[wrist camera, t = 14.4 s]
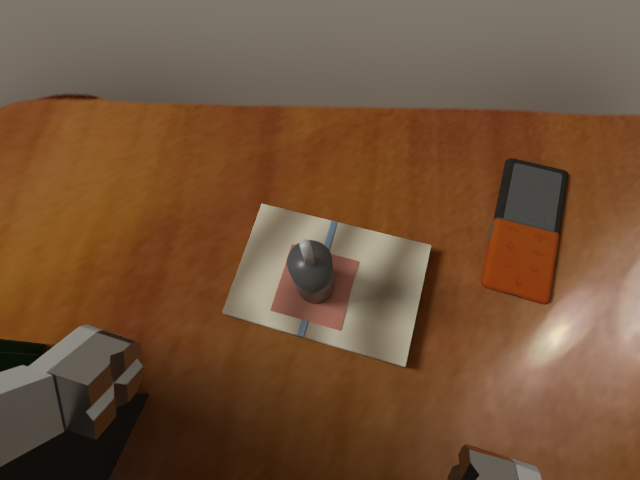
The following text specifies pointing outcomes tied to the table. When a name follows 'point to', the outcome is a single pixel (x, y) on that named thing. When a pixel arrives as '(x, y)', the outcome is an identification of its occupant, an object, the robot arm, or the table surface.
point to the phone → (525, 231)
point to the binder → (68, 436)
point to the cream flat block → (349, 285)
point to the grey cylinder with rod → (311, 270)
